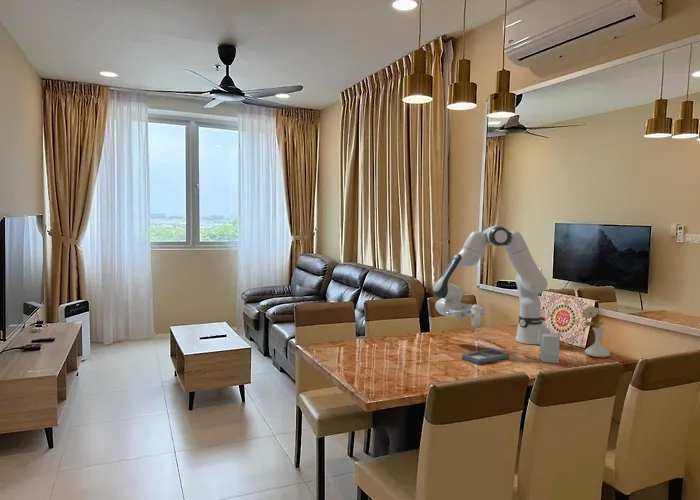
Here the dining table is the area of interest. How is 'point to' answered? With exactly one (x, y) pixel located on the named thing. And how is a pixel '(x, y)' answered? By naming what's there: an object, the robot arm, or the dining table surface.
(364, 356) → the dining table surface
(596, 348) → the flower in vase
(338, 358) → the dining table surface
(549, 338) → the supplement box
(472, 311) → the white round-topped cylinder
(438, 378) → the dining table surface
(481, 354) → the caddy
